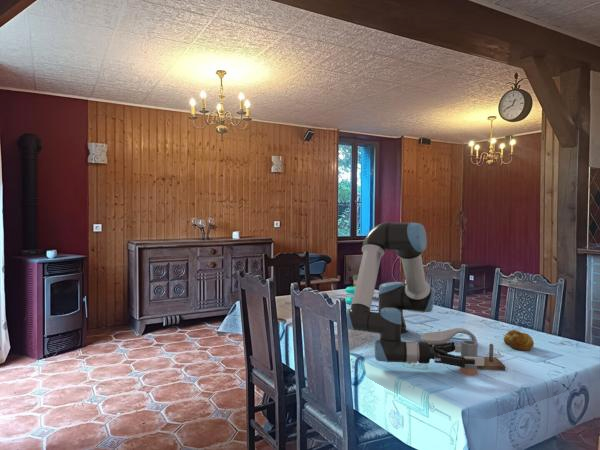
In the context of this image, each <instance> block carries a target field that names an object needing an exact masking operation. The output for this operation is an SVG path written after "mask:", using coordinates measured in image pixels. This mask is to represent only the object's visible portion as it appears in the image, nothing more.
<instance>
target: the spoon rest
mask: <svg viewBox="0 0 600 450" xmlns="http://www.w3.org/2000/svg"><path fill="white" fill-rule="evenodd" d="M460 333H465V334H467V335H468V336H470V337H471V338H470V339H471V341H475V342H477V347H478V345H479V343H478V339H477V338H476V336H475V334H474V333H472V332H471V331H470V330H468V329H466V328H461V327H457V328H451V329H446V330H441V331H431V332H430V331H429V332H426V333H423V334H421V336H420V338H421V340H422V342H427V343H428V344H441V343H449V341H450V340H451V339H452V338H453V337H455V336H456V335H457V334H460Z"/></svg>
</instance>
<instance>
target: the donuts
mask: <svg viewBox="0 0 600 450" xmlns="http://www.w3.org/2000/svg"><path fill="white" fill-rule="evenodd" d="M354 291H355V287H354V286H347V287H346V288H345V292H346V293H348V294H350V295H351V294H352V295H354ZM352 300H353V296H348V297H346V298H345V302H347V303H346V304H348V305H351V304H352Z"/></svg>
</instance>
